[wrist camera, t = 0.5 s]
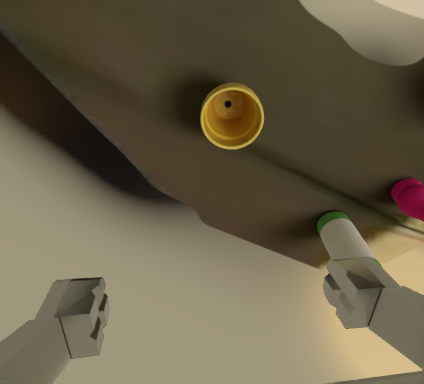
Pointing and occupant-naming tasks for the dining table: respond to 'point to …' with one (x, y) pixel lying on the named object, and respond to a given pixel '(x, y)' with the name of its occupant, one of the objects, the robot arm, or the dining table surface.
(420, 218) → the pepper mill
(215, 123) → the plant pot
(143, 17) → the dining table surface
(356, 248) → the wine bottle
